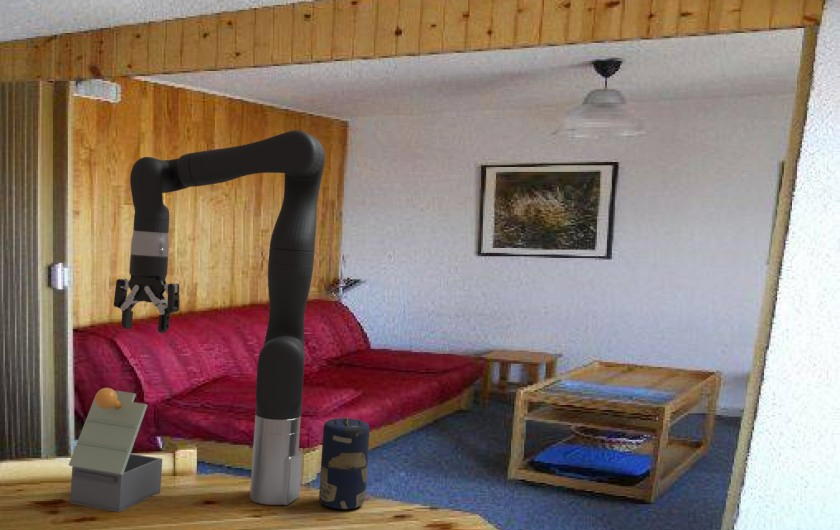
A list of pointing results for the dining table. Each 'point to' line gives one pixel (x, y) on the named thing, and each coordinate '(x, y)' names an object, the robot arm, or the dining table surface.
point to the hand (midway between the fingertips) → (144, 330)
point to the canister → (344, 463)
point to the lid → (109, 432)
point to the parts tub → (117, 484)
